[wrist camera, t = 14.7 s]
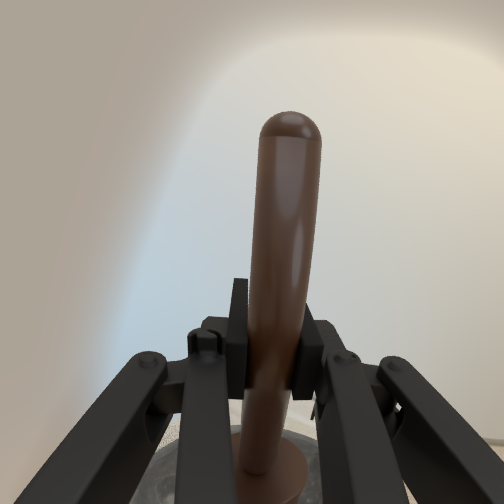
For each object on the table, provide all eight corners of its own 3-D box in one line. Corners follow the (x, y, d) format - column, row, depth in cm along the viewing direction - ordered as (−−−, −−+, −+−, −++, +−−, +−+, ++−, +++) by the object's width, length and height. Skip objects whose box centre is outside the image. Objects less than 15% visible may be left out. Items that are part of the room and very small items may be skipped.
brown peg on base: (190, 509, 11) (160, 90, 6) (222, 446, 17) (232, 126, 12) (290, 532, 10) (408, 96, 5) (305, 462, 16) (370, 136, 11)
